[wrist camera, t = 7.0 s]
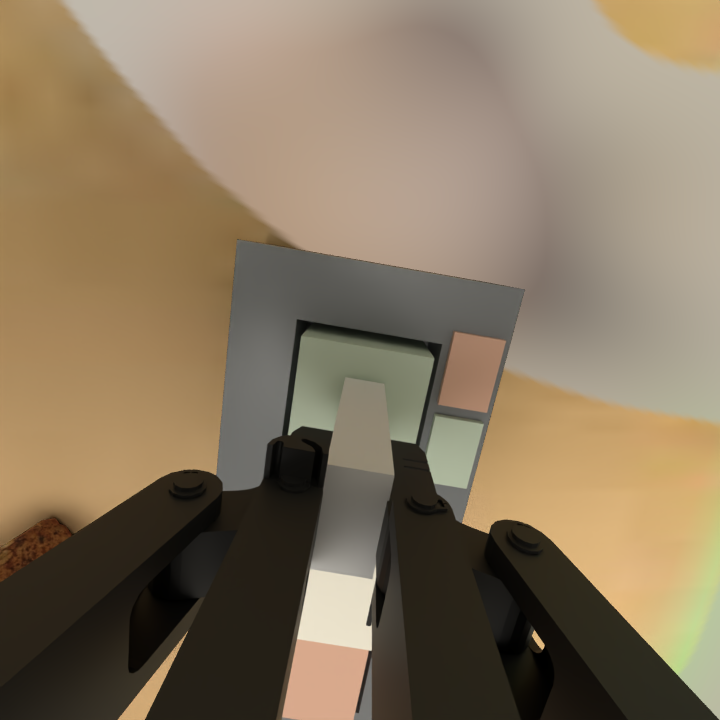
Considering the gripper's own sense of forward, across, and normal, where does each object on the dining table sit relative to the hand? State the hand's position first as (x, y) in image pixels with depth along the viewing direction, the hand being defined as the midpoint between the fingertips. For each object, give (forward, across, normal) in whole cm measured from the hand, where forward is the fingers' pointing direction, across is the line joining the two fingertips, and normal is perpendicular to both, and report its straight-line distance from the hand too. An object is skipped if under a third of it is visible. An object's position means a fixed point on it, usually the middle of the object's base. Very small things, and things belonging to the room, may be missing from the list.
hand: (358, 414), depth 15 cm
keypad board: (+5, 0, -7) cm, 9 cm away
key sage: (+4, 0, 0) cm, 4 cm away
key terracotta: (+4, 0, -14) cm, 14 cm away
